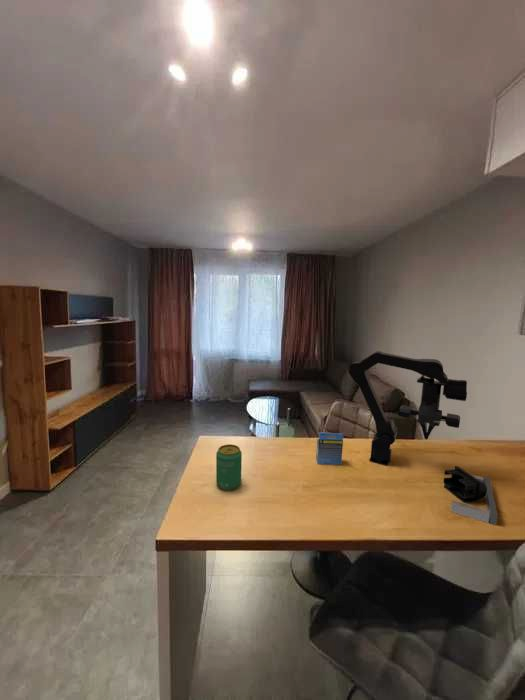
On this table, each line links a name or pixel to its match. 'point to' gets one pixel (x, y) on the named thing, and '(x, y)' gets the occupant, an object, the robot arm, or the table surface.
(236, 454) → the beverage can
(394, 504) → the table surface
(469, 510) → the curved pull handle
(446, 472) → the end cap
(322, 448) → the label tape box
